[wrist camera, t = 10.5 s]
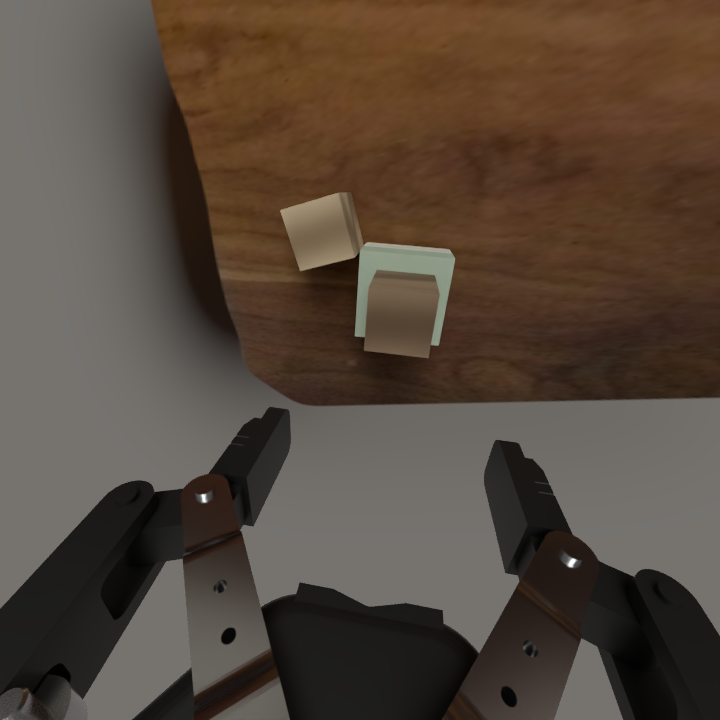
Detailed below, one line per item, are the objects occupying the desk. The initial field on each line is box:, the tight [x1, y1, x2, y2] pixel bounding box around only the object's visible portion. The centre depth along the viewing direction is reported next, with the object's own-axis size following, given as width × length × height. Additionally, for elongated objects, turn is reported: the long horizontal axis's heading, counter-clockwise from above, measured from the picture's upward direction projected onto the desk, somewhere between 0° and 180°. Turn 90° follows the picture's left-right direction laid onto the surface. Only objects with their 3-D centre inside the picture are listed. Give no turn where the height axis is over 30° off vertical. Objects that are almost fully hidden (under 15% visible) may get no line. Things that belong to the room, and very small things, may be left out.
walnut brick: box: [364, 270, 440, 358], centre depth 27 cm, size 5×5×6 cm
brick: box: [280, 192, 364, 271], centre depth 30 cm, size 5×5×6 cm
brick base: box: [355, 242, 455, 346], centre depth 32 cm, size 8×8×5 cm
